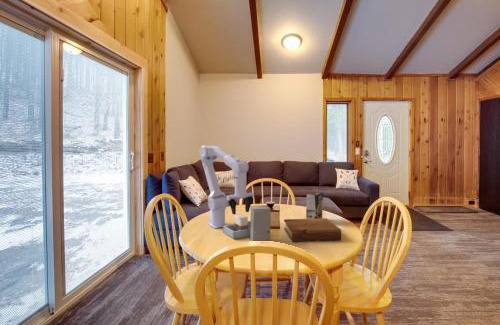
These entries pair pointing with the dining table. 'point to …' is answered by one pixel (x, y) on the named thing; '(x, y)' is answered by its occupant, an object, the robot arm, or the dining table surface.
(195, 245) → the dining table surface
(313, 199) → the coffee box
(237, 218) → the cream box
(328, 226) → the brown flat block
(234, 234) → the tote
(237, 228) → the walnut block
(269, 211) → the skincare box
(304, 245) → the dining table surface
